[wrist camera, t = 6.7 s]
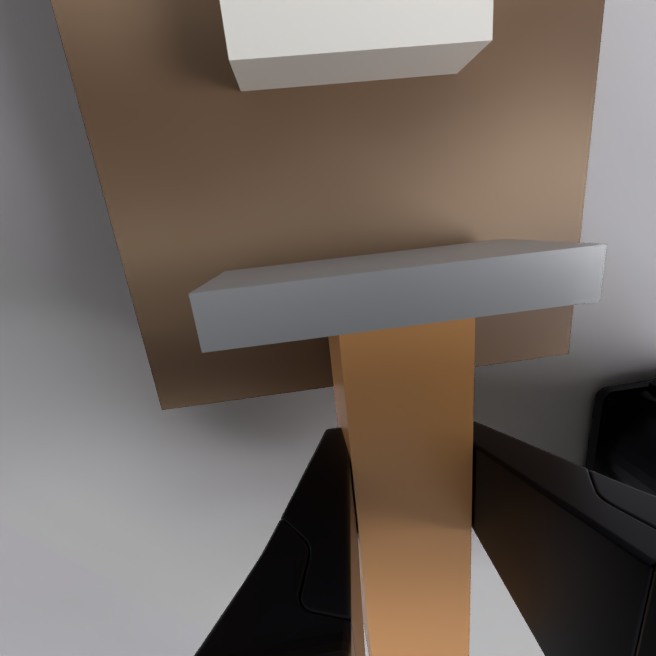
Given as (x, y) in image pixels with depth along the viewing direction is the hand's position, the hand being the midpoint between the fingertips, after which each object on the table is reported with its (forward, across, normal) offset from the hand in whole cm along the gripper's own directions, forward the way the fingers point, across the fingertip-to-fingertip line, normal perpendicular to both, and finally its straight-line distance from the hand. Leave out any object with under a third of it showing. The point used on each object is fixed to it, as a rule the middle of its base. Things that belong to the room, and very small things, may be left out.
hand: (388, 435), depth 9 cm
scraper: (+1, 0, 0) cm, 1 cm away
